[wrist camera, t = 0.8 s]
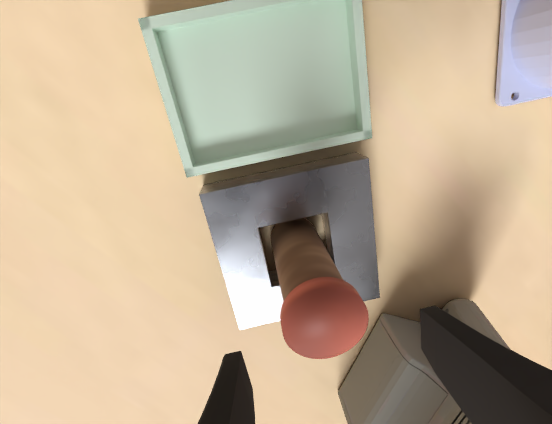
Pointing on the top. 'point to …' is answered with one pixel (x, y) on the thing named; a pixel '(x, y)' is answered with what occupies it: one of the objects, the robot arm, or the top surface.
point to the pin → (314, 294)
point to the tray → (260, 79)
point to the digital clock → (405, 374)
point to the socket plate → (285, 207)
